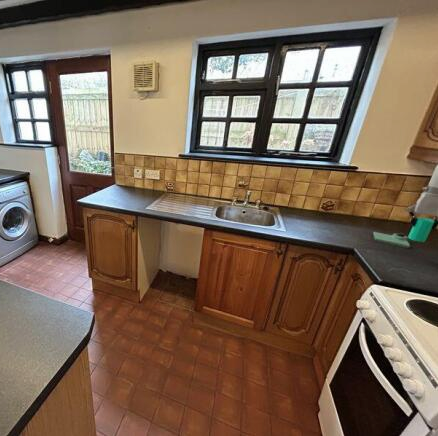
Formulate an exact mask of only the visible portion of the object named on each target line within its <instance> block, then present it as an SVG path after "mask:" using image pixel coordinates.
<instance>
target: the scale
mask: <svg viewBox="0 0 438 436" xmlns="http://www.w3.org/2000/svg"><path fill="white" fill-rule="evenodd" d="M372 234H373V239H374V241H376V242H381V243H385V244H387V245H388V244H389V245H393V246H398V247H402V248H407V249H410V248H411V244H410V243H409V242H408V239H409V238H408V235H407V236H406V235H405V236H404V237H400V236H397V234H398V233H392V234H386V233H382V232H377V231H373V232H372Z"/></svg>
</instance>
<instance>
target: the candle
mask: <svg viewBox="0 0 438 436" xmlns="http://www.w3.org/2000/svg"><path fill="white" fill-rule="evenodd" d="M434 220H435V219H431V218H428V216H426V217H417V221H416V223H415V226H411V227H412V228H411V230H410V232H409V234H408V235H407V237H408V239H410V240H412V241H415V242H420V243H421V242H422V243H424V242H426V240H427V239H428V236H429V235H430V232H431V230H432V229H431V228H432V226H433V224H434Z"/></svg>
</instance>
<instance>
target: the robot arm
mask: <svg viewBox="0 0 438 436" xmlns="http://www.w3.org/2000/svg"><path fill="white" fill-rule="evenodd" d="M421 190H422V191H423V192H421V194H420V196H419V197H418V199H417V200H416V202H415V204H413V205H411V206H408V207H406V208H405V210H406V211H407V213H408V214H409V215H410V216H411V219H410V221H409V224H410V225H411V227H413V226H415V223H416V221H417V218H419V216H420V215H425V216H432V217H434V219H433V220H434V224H433V226H432V228H431V230H433V231H434V230H435V229H437V227H438V164H437V165H436V167H435V168H434V171H433V173H432V176H431V178H430V181H429V182H428V185H426V186H422V188H421ZM413 211H414V212H413Z"/></svg>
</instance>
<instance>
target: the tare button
mask: <svg viewBox="0 0 438 436" xmlns="http://www.w3.org/2000/svg"><path fill="white" fill-rule="evenodd" d="M396 234H397V236H400V237H404V236H406V233H404V232H397V233H396Z"/></svg>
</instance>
